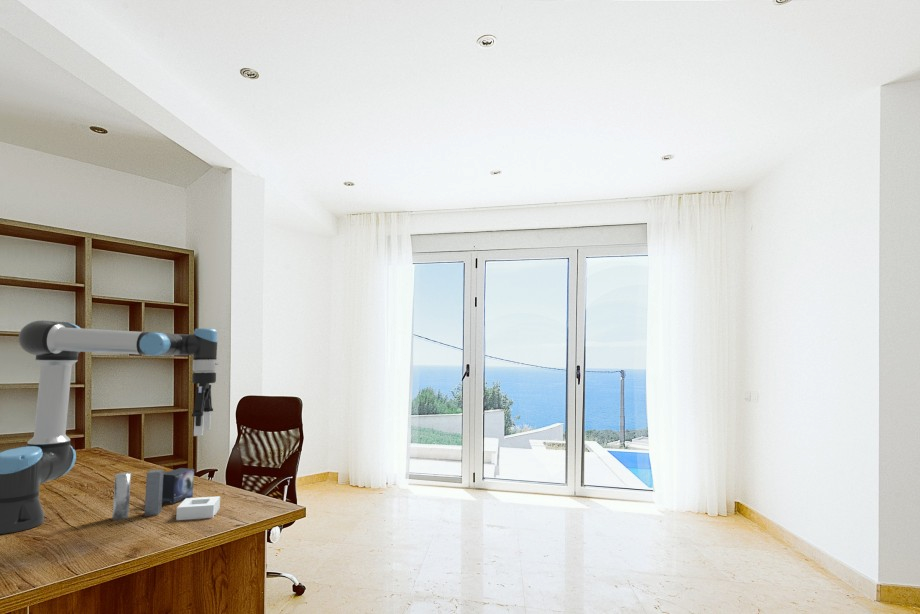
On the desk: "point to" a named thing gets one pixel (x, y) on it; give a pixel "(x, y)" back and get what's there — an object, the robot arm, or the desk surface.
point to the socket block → (198, 508)
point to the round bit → (121, 496)
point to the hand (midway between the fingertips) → (202, 432)
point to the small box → (177, 485)
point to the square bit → (154, 492)
